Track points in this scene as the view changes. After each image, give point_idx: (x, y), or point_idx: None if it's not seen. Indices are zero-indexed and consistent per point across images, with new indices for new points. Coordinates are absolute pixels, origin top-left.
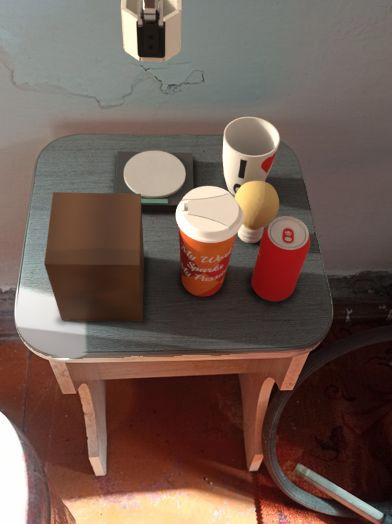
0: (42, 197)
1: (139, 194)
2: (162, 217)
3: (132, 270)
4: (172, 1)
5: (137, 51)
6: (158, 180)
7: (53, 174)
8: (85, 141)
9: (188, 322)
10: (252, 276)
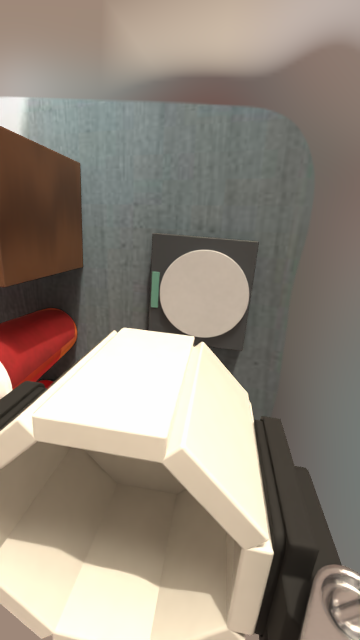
0: (185, 114)
1: (2, 284)
2: (143, 295)
3: None
4: (171, 608)
5: (17, 387)
6: (188, 299)
7: (233, 131)
8: (303, 187)
9: (2, 307)
10: (48, 384)
